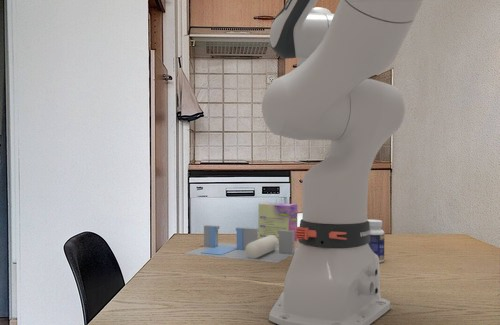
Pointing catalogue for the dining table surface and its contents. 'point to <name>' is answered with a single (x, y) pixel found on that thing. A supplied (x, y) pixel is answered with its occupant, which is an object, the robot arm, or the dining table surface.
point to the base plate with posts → (244, 245)
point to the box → (276, 219)
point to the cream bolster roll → (261, 246)
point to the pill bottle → (377, 239)
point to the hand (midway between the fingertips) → (315, 135)
